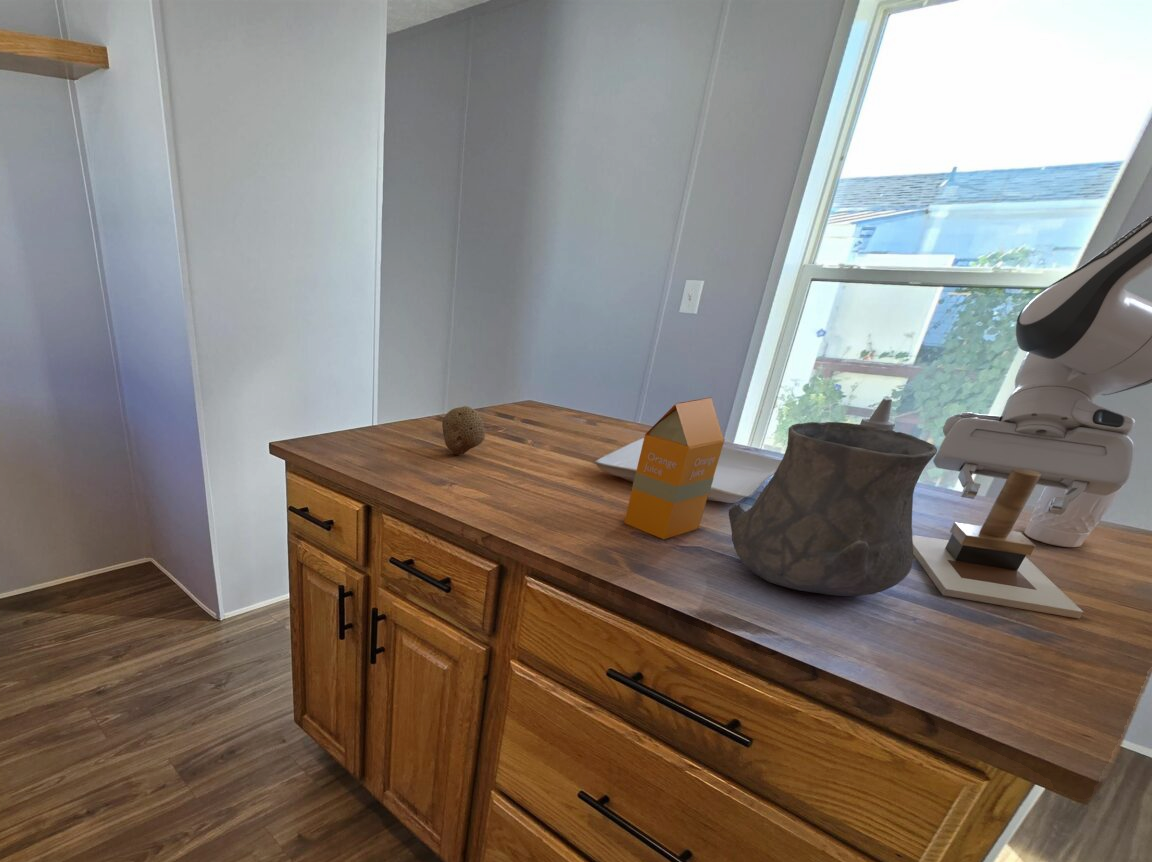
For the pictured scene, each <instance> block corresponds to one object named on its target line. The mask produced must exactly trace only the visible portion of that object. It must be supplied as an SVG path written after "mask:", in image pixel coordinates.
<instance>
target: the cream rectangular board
mask: <svg viewBox="0 0 1152 862" xmlns="http://www.w3.org/2000/svg"><path fill="white" fill-rule="evenodd" d="M912 540H913V552H914V557H915V559H916V560H917V561H918V563H919V564H920V566H921V567H922V568H923V570H924V571H925V573H926V574H927V576H928V577H929V578H930V580H931V581H932V583H933V584H934V585H935V587H936V588H937V590H938V591H939V593H940V594H941V595H942V596H944V597H951V598H957V599H961V600H962V599H963V600H969V601H975V602H981V603H986V604H991V605H998V606H1003V607H1009V608H1015V609H1021V610H1027V611H1031V612H1032V611H1033V612H1038V613H1044V614H1050V615H1056V616H1061V617H1066V618H1067V617H1068V618H1073V619H1081V617H1082V616H1083V614H1084V610H1082V609H1081V608H1080V607H1079V606H1078V605H1077V604H1076V603H1075V602H1074V601H1073V600H1072V599H1071V598H1069V596H1068V595H1066V594H1065V593H1064V591H1062V590H1061V589H1060V588H1059V587H1058V586H1057V585H1056V584H1055V583H1054V582H1052V580H1051V579H1049V578H1048V577H1047V575H1045V573H1044V572H1042V571H1041V570H1040V569H1039V568H1038V567H1037V566H1036V565H1035V564H1034V563H1033V562H1032V561H1031V560H1029V558H1027V557H1026V556H1025V558H1024V560H1023V561H1022V563H1021V565H1020V567H1019V568H1018V570H1017V571H1016V570H1010V569H1004V568H998V567H992V566H985V565H979V564H973V563H967V562H961V561H955V560H954V558H953V557H952V556H951V555H950V553H949V552H948V551H947V550H946V548H945V547H946V545H947V543H948V541H949V539H943V538H942V539H941V538H936V537H929V536H922V535H916V534H912Z"/></svg>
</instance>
